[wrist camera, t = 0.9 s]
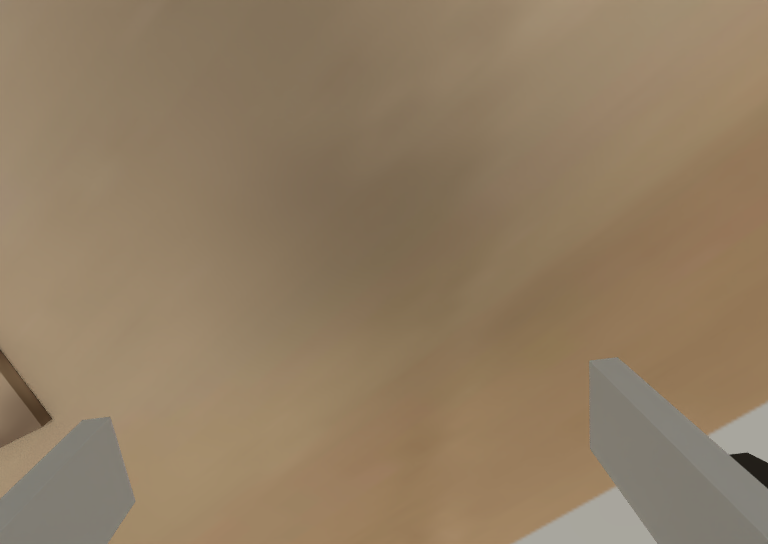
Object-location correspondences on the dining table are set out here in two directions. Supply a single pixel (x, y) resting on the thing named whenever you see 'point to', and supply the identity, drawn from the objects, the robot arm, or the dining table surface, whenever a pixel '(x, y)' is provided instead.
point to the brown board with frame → (17, 406)
